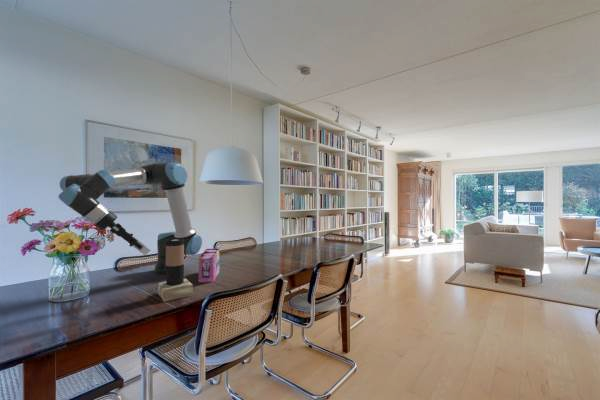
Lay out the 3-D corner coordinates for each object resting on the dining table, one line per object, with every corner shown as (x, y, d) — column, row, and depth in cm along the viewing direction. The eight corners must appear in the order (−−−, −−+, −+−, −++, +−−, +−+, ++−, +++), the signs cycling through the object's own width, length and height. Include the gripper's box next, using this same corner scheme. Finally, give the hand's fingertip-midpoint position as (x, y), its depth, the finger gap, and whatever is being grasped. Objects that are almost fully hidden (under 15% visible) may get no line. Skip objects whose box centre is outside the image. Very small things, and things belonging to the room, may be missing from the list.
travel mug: (168, 287, 122) (168, 241, 122) (163, 282, 128) (163, 239, 127) (186, 283, 127) (186, 239, 127) (180, 279, 133) (180, 237, 132)
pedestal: (158, 293, 128) (158, 282, 128) (185, 288, 136) (185, 277, 136) (163, 301, 119) (163, 289, 119) (192, 295, 126) (192, 284, 126)
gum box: (213, 283, 145) (213, 256, 145) (197, 283, 144) (197, 257, 143) (219, 270, 168) (219, 248, 168) (206, 271, 167) (206, 248, 167)
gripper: (92, 221, 119) (133, 252, 129) (94, 227, 100) (142, 262, 109) (107, 208, 122) (146, 239, 132) (112, 212, 103) (157, 247, 112)
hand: (145, 250), depth 121 cm, fingers open, 13 cm apart
